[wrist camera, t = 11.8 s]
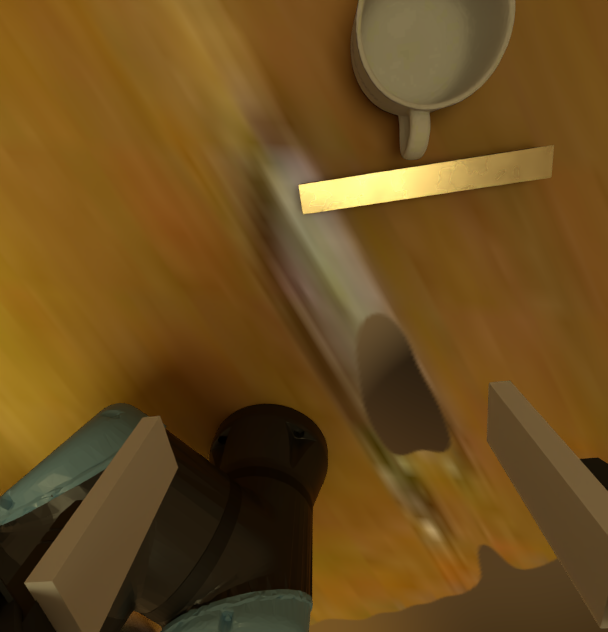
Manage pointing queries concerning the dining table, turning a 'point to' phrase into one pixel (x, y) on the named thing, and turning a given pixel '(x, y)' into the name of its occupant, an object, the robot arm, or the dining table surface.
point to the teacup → (426, 56)
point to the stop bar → (427, 179)
